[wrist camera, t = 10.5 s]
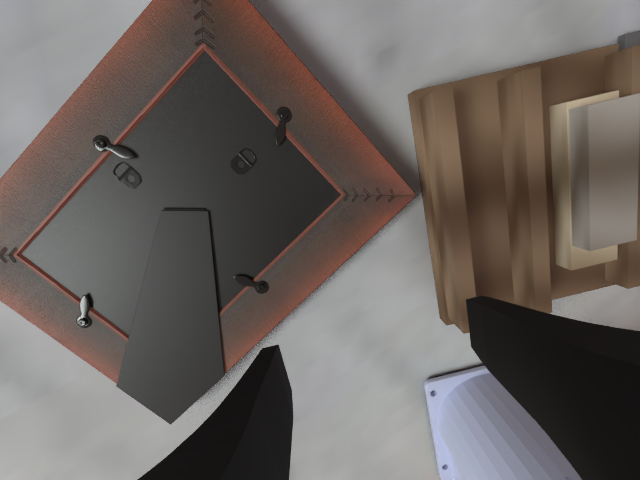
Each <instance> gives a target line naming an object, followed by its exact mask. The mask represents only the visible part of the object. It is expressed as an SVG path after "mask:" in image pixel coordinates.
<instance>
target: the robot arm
mask: <svg viewBox="0 0 640 480" xmlns="http://www.w3.org/2000/svg"><path fill="white" fill-rule="evenodd" d="M466 306H467V315H468V323H469V331H470V340H471V347H472V348H473V350H474V351H475V353H476V354H477V356H478V357H479V359H480V360H481V361H482V363H483V364H484V365H485V366H480V367H476V368H472V369H468V370H464V371H460V372H456V373H452V374H448V375H444V376H440V377H435V378H431V379H428V380H427V381H426V382H425V383H424V388H425V394H426V400H427V406H428V412H429V418H430V424H431V430H432V436H433V442H434V448H435V453H436V459H437V465H438V471H439V475H440V477H441V479H442V480H454V479H455V480H640V331H634V330H627V329H621V328H614V327H609V326H603V325H598V324H592V323H587V322H582V321H578V320H573V319H569V318H565V317H561V316H556V315H552V314H549V313H545V312H541V311H537V310H534V309H530V308H527V307H523V306H520V305H516V304H513V303H509V302H506V301H502V300H499V299H495V298H491V297H486V296H478V297H474V298H469V299H466ZM433 390H435V391H434V392H432V393H430V392H431V391H433ZM292 428H293V403H292V390H291V386H290V383H289V379H288V376H287V372H286V369H285V366H284V362H283V359H282V355H281V352H280V349H279V345H275V346H271V347H267V348H262V350H261V351H260V352H259V354H258V355H257V357H256V358H255V359H254V361H253V362H252V364H251V365H250V367H249V368H248V369H247V371H246V372H245V374H244V375H243V376H242V378H241V379H240V380H239V382H238V383H237V384H236V386H235V387H234V388H233V389H232V391H231V392H230V393H229V394H228V396H227V397H226V398H225V399H224V401H223V402H222V403H221V404H220V405H219V407H218V408H217V409H216V410H215V411H214V412H213V413H212V414H211V415H210V417H209V418H208V419H207V420H206V421H205V422H204V423H203V424H202V425H201V426H200V427H199V428H198V429H197V430H196V431H195V432H194V433H193V434H192V435H190V436H189V437H188V438H187V439H186V440H185V441H184V442H183V443H182V444H180V445H179V446H178V447H177V448H176V449H175V450H174V451H173V452H172V453H171V454H169V455H168V456H167V457H166V458H165V459H163V460H162V461H161V462H160V463H158V464H157V465H156V466H155V467H154V468H152V469H151V470H150V471H148V472H147V473H146V474H144V475H143V476H142V477H141V478H139V479H138V480H289V470H290V456H291V442H292Z"/></svg>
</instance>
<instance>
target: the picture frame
mask: <svg viewBox="0 0 640 480" xmlns="http://www.w3.org/2000/svg"><path fill="white" fill-rule="evenodd" d="M416 196H417V195H416V194H415V192H414V191H413V190H412V189H411V188H410V187H409V185H408V184H407V183H406V182H405V181H404V180H403V179H402V177H401V176H400V175H399V174H398V173H397V172H396V170H395V169H394V168H393V167H392V166H391V165H390V163H389V162H388V161H387V160H386V159H385V158H384V157H383V155H382V154H381V153H380V152H379V151H378V150H377V148H376V147H375V146H374V145H373V144H372V143H371V141H370V140H369V139H368V138H367V137H366V136H365V135H364V133H363V132H362V131H361V130H360V129H359V128H358V126H357V125H356V124H355V123H354V122H353V121H352V119H351V118H350V117H349V116H348V115H347V114H346V113H345V111H344V110H343V109H342V108H341V107H340V106H339V104H338V103H337V102H336V101H335V100H334V99H333V97H332V96H331V95H330V94H329V93H328V92H327V91H326V89H325V88H324V87H323V86H322V85H321V84H320V82H319V81H318V80H317V79H316V78H315V77H314V75H313V74H312V73H311V72H310V71H309V70H308V69H307V67H306V66H305V65H304V64H303V63H302V62H301V60H300V59H299V58H298V57H297V56H296V55H295V53H294V52H293V51H292V50H291V49H290V48H289V46H288V45H287V44H286V43H285V42H284V41H283V40H282V38H281V37H280V36H279V35H278V34H277V33H276V31H275V30H274V29H273V28H272V27H271V26H270V24H269V23H268V22H267V21H266V20H265V19H264V18H263V16H262V15H261V14H260V13H259V12H258V11H257V9H256V8H255V7H254V6H253V5H252V4H251V2H250V1H249V0H152V2H151V3H150V4H149V5H148V6H147V7H146V9H145V10H144V11H143V12H142V13H141V15H140V16H139V17H138V18H137V19H136V20H135V22H134V23H133V24H132V25H131V26H130V27H129V29H128V30H127V31H126V32H125V33H124V34H123V36H122V37H121V38H120V39H119V40H118V42H117V43H116V44H115V45H114V46H113V47H112V49H111V50H110V51H109V52H108V53H107V54H106V56H105V57H104V58H103V59H102V60H101V61H100V63H99V64H98V65H97V66H96V67H95V69H94V70H93V71H92V72H91V73H90V74H89V76H88V77H87V78H86V79H85V80H84V81H83V83H82V84H81V85H80V86H79V87H78V88H77V90H76V91H75V92H74V93H73V94H72V96H71V97H70V98H69V99H68V100H67V101H66V103H65V104H64V105H63V106H62V107H61V108H60V110H59V111H58V112H57V113H56V114H55V116H54V117H53V118H52V119H51V120H50V121H49V123H48V124H47V125H46V126H45V127H44V128H43V130H42V131H41V132H40V133H39V134H38V135H37V137H36V138H35V139H34V140H33V141H32V143H31V144H30V145H29V146H28V147H27V148H26V150H25V151H24V152H23V153H22V154H21V155H20V157H19V158H18V159H17V160H16V161H15V162H14V164H13V165H12V166H11V167H10V168H9V170H8V171H7V172H6V173H5V174H4V175H3V177H2V178H1V179H0V301H1V302H3V303H4V304H6V305H7V306H9V307H10V308H11V309H13V310H14V311H16V312H17V313H18V314H20V315H21V316H23V317H24V318H25V319H27V320H28V321H30V322H31V323H32V324H34V325H35V326H37V327H38V328H39V329H41V330H42V331H44V332H45V333H46V334H48V335H49V336H51V337H52V338H53V339H55V340H56V341H58V342H59V343H60V344H62V345H63V346H65V347H66V348H67V349H69V350H70V351H72V352H73V353H74V354H76V355H77V356H79V357H80V358H81V359H83V360H84V361H86V362H87V363H89V364H90V365H91V366H93V367H94V368H96V369H97V370H98V371H100V372H101V373H103V374H104V375H105V376H107V377H108V378H110V379H111V380H112V381H114V382H115V383H117V385H116V386H117V387H118V388H120V389H121V390H122V391H124V392H125V393H127V394H128V395H130V396H131V397H132V398H134V399H135V400H137V401H138V402H139V403H141V404H142V405H144V406H145V407H147V408H148V409H149V410H151V411H152V412H154V413H155V414H156V415H158V416H159V417H161V418H162V419H164V420H165V421H166V422H168V423H169V424H172V423H173V422H174V421H175V420H176V419H177V418H178V417H179V416H181V415H182V414H183V413H184V412H185V411H186V410H187V409H188V408H189V407H190V406H192V405H193V404H194V403H195V402H196V401H197V400H198V399H199V398H200V397H201V396H203V395H204V394H205V393H206V392H207V391H208V390H209V389H210V388H211V387H212V386H213V385H215V384H216V383H217V382H218V381H219V380H220V379H221V378H222V377H223V376H224V375H225V373H226V372H227V371H228V370H229V369H230V368H231V367H232V366H234V365H235V364H236V363H237V362H238V361H239V360H240V359H241V358H242V357H243V356H244V355H245V354H246V353H248V352H249V351H250V350H251V349H252V348H253V347H254V346H255V345H256V344H257V343H258V342H259V341H260V340H262V339H263V338H264V337H265V336H266V335H267V334H268V333H269V332H270V331H271V330H272V329H273V328H274V327H276V326H277V325H278V324H279V323H280V322H281V321H282V320H283V319H284V318H285V317H286V316H287V315H288V314H290V313H291V312H292V311H293V310H294V309H295V308H296V307H297V306H298V305H299V304H300V303H301V302H303V301H304V300H305V299H306V298H307V297H308V296H309V295H310V294H311V293H312V292H313V291H314V290H315V289H317V288H318V287H319V286H320V285H321V284H322V283H323V282H324V281H325V280H326V279H327V278H328V277H329V276H331V275H332V274H333V273H334V272H335V271H336V270H337V269H338V268H339V267H340V266H341V265H342V264H343V263H345V262H346V261H347V260H348V259H349V258H350V257H351V256H352V255H353V254H354V253H355V252H356V251H357V250H359V249H360V248H361V247H362V246H363V245H364V244H365V243H366V242H367V241H368V240H369V239H370V238H371V237H373V236H374V235H375V234H376V233H377V232H378V231H379V230H380V229H381V228H382V227H383V226H384V225H385V224H387V223H388V222H389V221H390V220H391V219H392V218H393V217H394V216H395V215H396V214H397V213H398V212H399V211H401V210H402V209H403V208H404V207H405V206H406V205H407V204H408V203H409V202H410V201H411V200H412V199H413V198H415V197H416Z"/></svg>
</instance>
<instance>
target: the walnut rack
mask: <svg viewBox="0 0 640 480" xmlns="http://www.w3.org/2000/svg"><path fill="white" fill-rule="evenodd" d="M617 90H619V98H620V97H625V96H629V95H634V94H639V93H640V45H637V46H632V47H630V48H627V49H624V50H621V51H619V44H614V45H610V46H606V47H601V48H597V49H593V50H589V51H584V52H580V53H576V54H571V55H567V56H563V57H558V58H554V59H550V60H545V61H541V62H537V63H532V64H528V65H524V66H519V67H515V68H511V69H506V70H502V71H498V72H493V73H489V74H485V75H480V76H476V77H472V78H468V79H463V80H459V81H455V82H450V83H446V84H442V85H437V86H433V87H429V88H424V89H420V90H416V91H413V92H411V93H410V94H408V100H409V107H410V113H411V120H412V127H413V134H414V141H415V148H416V155H417V162H418V169H419V176H420V183H421V189H422V196H423V203H424V210H425V217H426V224H427V231H428V238H429V245H430V252H431V259H432V265H433V272H434V279H435V286H436V293H437V300H438V307H439V314H440V319H441V320H442V321H443V322H444V323H445V324H446V325H450V324H455V325H456V326H457V327H458V328H459V329H460V330H461V331H462V332H463V333H464V334H465V333H469V332H470V331H469V323H468V315H467V306H466V299H469V298H474V297H478V296H486V297H491V298H495V299H499V300H502V301H506V302H509V303H513V304H516V305H520V306H523V307H527V308H530V309H534V310H537V311H541V312H545V313H551V312H552V300H553V299H558V298H562V297H566V296H570V295H574V294H578V293H582V292H586V291H591V290H595V289H599V288H603V287H607V286H611V285H615V284H617V285H619V286H622V287H625V288H627V289H629V288H633V287H637V286H640V131H639V171H638V211H637V240H635V241H631V242H626V243H622V244H618V254H617V260H613V261H609V262H605V263H600V264H596V265H592V266H588V267H584V268H580V269H576V270H569V269H566V268H564V267H561V266H558V265H556V254H555V230H554V206H553V182H552V158H551V134H550V110H549V106H553V105H557V104H561V103H565V102H570V101H574V100H578V99H583V98H587V97H591V96H595V95H600V94H604V93H608V92H612V91H617Z"/></svg>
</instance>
